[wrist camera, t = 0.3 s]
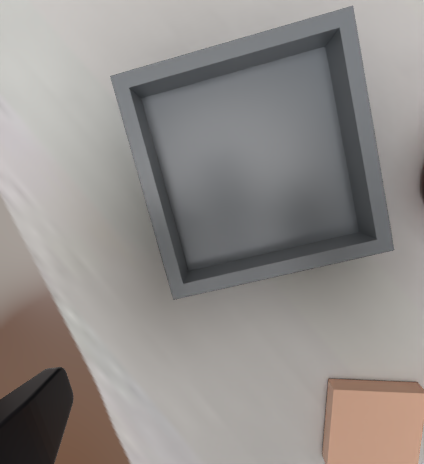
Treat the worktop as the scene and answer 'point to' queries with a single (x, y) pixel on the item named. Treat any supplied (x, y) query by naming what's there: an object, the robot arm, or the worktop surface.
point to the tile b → (373, 422)
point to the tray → (258, 155)
